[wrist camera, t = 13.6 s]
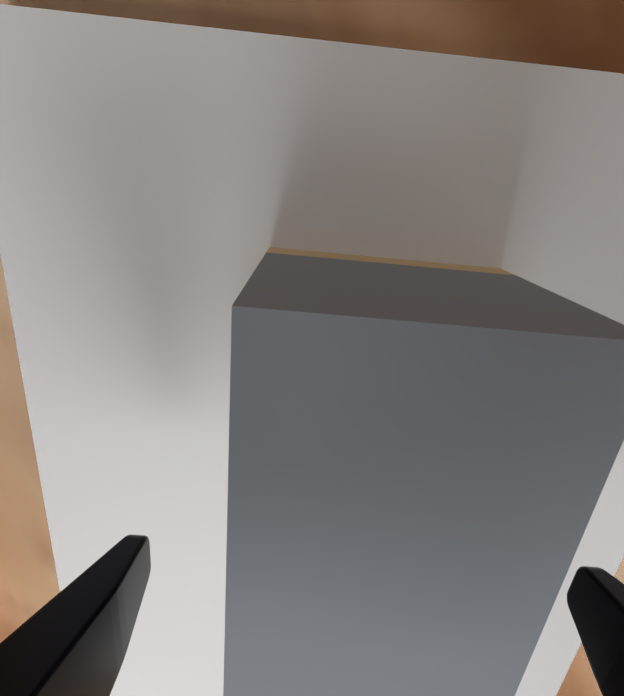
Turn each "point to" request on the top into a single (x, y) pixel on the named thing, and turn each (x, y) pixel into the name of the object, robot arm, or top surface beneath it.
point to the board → (258, 261)
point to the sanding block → (406, 472)
